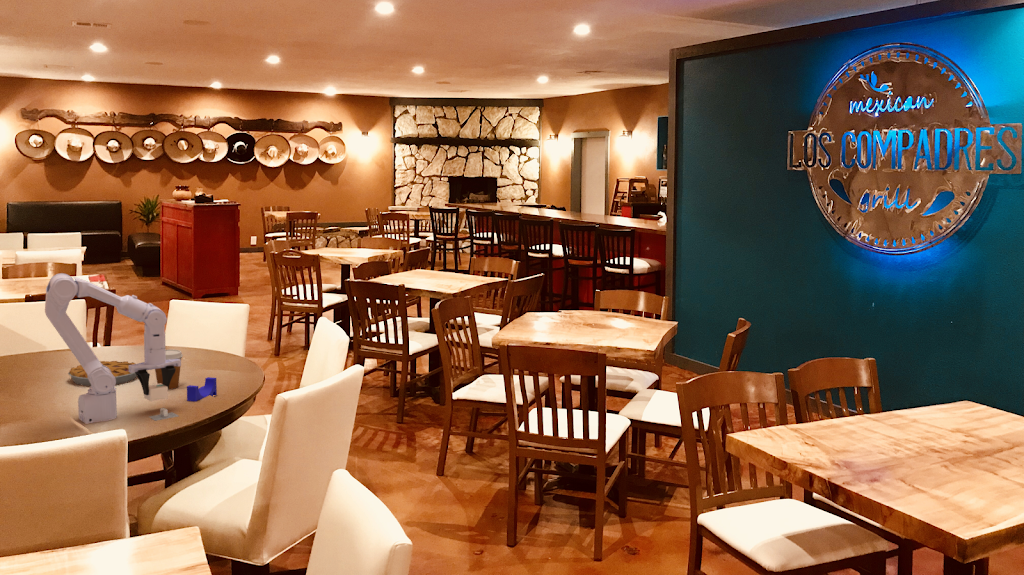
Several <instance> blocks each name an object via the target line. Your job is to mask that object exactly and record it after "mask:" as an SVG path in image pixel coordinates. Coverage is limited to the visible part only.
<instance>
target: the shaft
mask: <svg viewBox="0 0 1024 575" xmlns="http://www.w3.org/2000/svg"><path fill="white" fill-rule="evenodd" d="M168 411H169V410H168V409H167V408H165V407H161V408H159V415H160V416H162V417H163V418H165V417H168V413H169V412H168Z"/></svg>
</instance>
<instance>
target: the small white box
mask: <svg viewBox="0 0 1024 575" xmlns="http://www.w3.org/2000/svg"><path fill="white" fill-rule="evenodd" d="M143 399H145V400H147V401H149V402H155V401H161V400H168V399H169V389H168V387H167V386H165V385H163V384H161V383H160V384H157V383H155V384H149V395H145V394H144V393H143Z"/></svg>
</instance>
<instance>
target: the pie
mask: <svg viewBox="0 0 1024 575" xmlns="http://www.w3.org/2000/svg"><path fill="white" fill-rule="evenodd" d="M99 361H100V362H101V364H103V365H104V366H106V367H108V368H109V369H110V370H111V373H112V374H113V375H114V377H115V379H116V385H120V383H121V384H124V383H129V382H130V381H134V380H135V379H136V378H137V375H136V374H135V372H134V373H130V372H129V365H133V364H136V363H135V362H129V361H118V360H111V361H110V360H109V361H107V360H106V361H105V360H99ZM67 374H68V375H69V376H70V377H71V379H72V381H73V382H74V384H76V385H81V386H85V387H86V386H88V387H90V386H91V383H90V382H89V381H88V375H87V373H86V372H85V370H84V369H83V367H82V366H81V364H79V365H77V366H76V367H71V368H70V370H69V372H68V373H67Z"/></svg>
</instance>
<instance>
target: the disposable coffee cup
mask: <svg viewBox="0 0 1024 575" xmlns="http://www.w3.org/2000/svg"><path fill="white" fill-rule="evenodd" d="M183 356H184V354H182V351H181V350H179V349H166V360H168V359H180V360H181V361H182V359H183ZM181 366H182V365H181ZM181 366H174V368H176V371H175V373H174V375H173V377H172V379H171V381H170V385H169V389H168V390H174V389H173V388H175V389H177V388H179V385H180V384H179V382H180V374H181ZM154 371H155V372H154V373H155V378H156V384H160V383H161V384H163V379H162V371H161V368H159V369H154Z"/></svg>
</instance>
